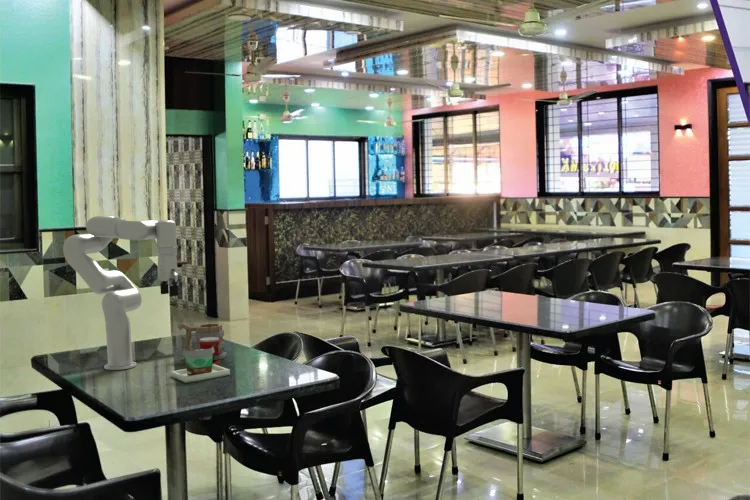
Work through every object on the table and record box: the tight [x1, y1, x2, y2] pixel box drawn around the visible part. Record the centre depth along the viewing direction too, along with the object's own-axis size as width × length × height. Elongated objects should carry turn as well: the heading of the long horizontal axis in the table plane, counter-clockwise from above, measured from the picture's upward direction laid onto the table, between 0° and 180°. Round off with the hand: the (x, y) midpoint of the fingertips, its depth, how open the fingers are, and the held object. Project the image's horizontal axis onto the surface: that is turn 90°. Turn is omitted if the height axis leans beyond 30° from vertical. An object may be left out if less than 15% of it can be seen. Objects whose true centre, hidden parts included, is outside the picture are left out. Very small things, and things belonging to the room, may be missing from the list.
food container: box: [182, 346, 215, 376], centre depth 297 cm, size 12×6×10 cm, turn 118°
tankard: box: [177, 323, 228, 360], centre depth 333 cm, size 20×13×15 cm, turn 80°
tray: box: [170, 364, 231, 383], centre depth 299 cm, size 14×18×2 cm
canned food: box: [200, 337, 221, 366], centre depth 317 cm, size 8×8×11 cm
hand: (169, 294), depth 308 cm, fingers open, 9 cm apart
